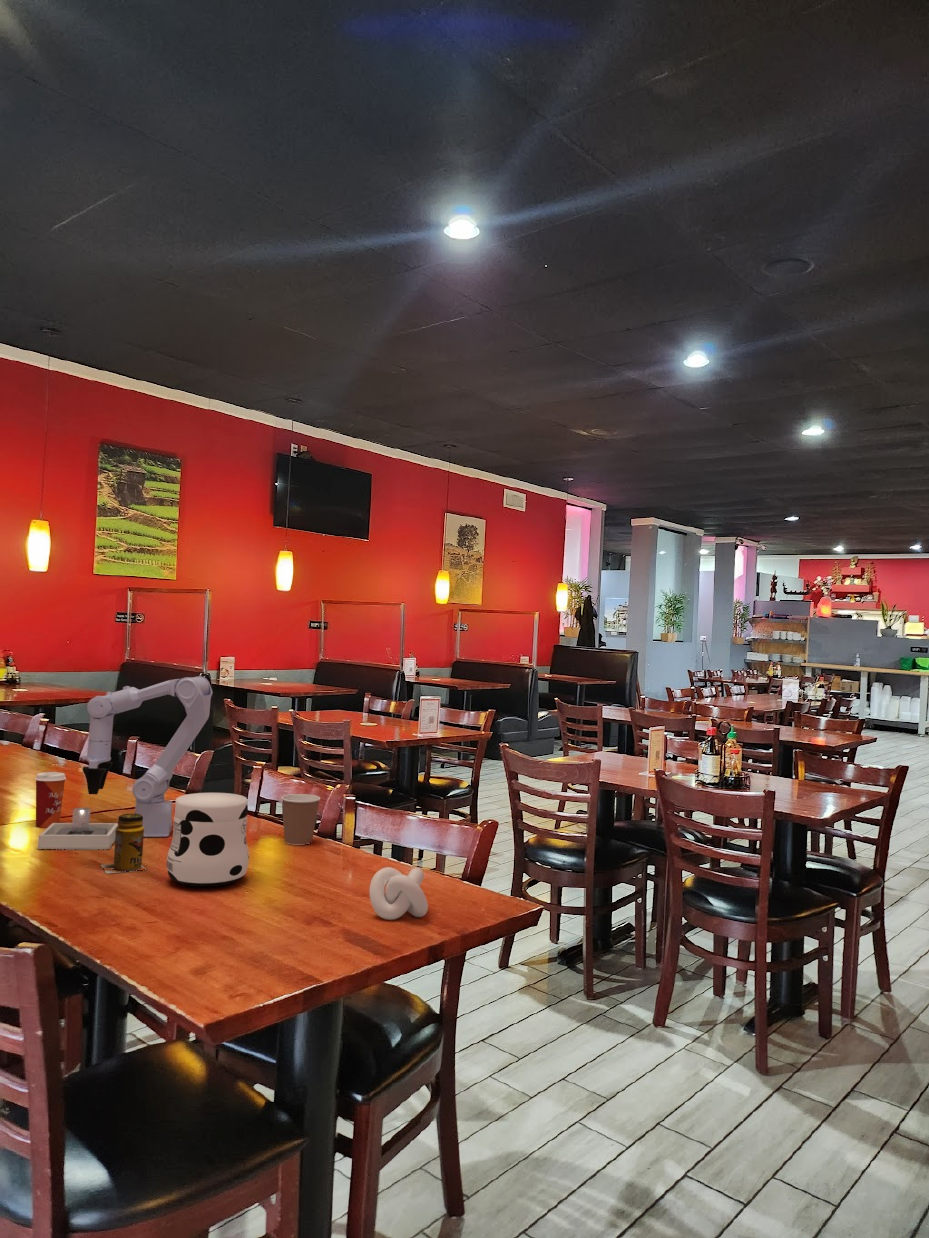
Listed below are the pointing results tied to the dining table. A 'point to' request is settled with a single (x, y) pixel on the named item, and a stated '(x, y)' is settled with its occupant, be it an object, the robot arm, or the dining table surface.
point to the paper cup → (49, 798)
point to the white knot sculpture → (398, 893)
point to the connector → (81, 821)
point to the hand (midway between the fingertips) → (95, 791)
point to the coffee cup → (299, 817)
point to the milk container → (209, 839)
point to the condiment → (128, 844)
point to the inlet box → (78, 837)
